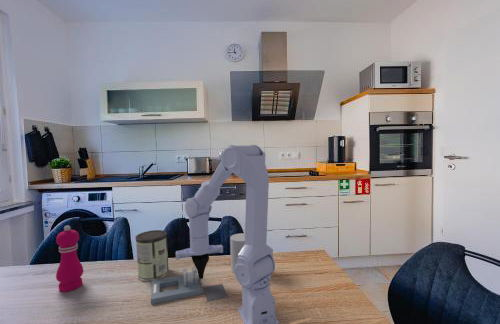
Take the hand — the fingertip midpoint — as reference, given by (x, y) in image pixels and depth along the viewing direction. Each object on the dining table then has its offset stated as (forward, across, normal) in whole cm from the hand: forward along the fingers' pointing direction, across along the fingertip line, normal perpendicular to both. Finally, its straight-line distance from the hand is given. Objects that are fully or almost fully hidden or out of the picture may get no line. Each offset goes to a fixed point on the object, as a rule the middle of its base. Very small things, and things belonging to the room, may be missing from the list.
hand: (200, 277), depth 82 cm
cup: (+3, -15, -5) cm, 16 cm away
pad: (+3, -3, +6) cm, 7 cm away
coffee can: (+3, +15, -14) cm, 20 cm away
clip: (+1, +3, 0) cm, 3 cm away
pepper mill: (+3, +40, -15) cm, 43 cm away
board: (+3, +8, 0) cm, 8 cm away
